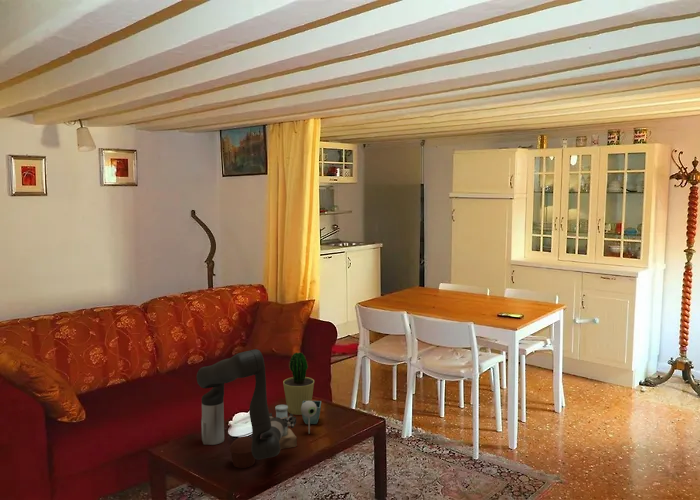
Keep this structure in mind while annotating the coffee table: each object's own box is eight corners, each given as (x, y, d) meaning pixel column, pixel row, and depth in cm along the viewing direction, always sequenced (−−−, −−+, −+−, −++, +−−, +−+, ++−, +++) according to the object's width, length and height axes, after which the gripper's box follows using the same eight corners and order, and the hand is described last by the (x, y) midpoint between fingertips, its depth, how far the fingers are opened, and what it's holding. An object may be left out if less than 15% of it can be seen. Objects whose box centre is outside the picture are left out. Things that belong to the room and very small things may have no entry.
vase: (277, 437, 247) (277, 409, 246) (274, 432, 252) (273, 405, 251) (290, 435, 249) (289, 408, 248) (286, 430, 254) (286, 403, 253)
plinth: (273, 450, 244) (273, 440, 244) (268, 440, 254) (267, 431, 253) (296, 446, 248) (296, 436, 248) (290, 437, 257) (290, 428, 257)
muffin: (244, 454, 241) (243, 430, 240) (264, 460, 235) (264, 436, 234) (222, 464, 231) (222, 440, 230) (243, 472, 225) (242, 447, 224)
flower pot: (320, 426, 270) (320, 407, 269) (301, 426, 270) (301, 407, 269) (321, 419, 279) (321, 400, 278) (303, 418, 279) (302, 400, 278)
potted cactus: (319, 407, 294) (319, 348, 292) (306, 418, 280) (306, 356, 277) (292, 403, 300) (291, 346, 297) (277, 413, 285) (277, 353, 283)
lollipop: (304, 438, 257) (304, 404, 255) (298, 432, 263) (298, 399, 262) (319, 434, 260) (319, 402, 259) (313, 429, 266) (312, 397, 265)
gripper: (291, 421, 230) (297, 406, 246) (256, 420, 231) (264, 406, 247) (292, 439, 231) (297, 424, 247) (256, 439, 232) (264, 423, 248)
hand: (281, 415), depth 247 cm, fingers open, 8 cm apart
